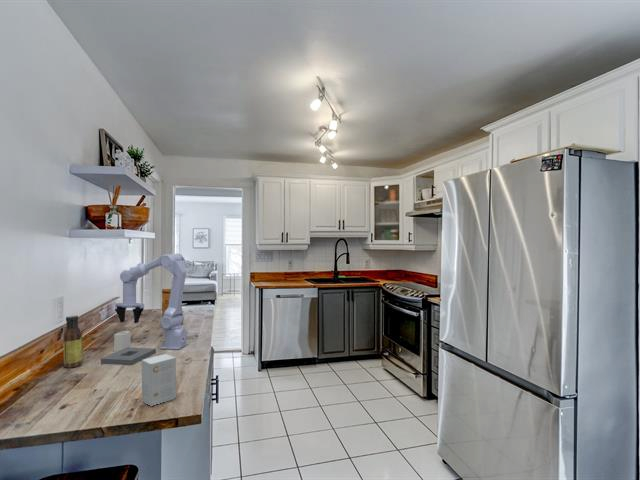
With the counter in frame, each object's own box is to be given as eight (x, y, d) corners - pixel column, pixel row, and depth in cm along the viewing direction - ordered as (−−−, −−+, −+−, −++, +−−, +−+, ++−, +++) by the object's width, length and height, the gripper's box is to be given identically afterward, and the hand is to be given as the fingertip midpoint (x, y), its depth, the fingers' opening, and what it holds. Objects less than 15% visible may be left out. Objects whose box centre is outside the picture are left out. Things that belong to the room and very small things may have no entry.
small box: (166, 393, 116) (166, 353, 117) (176, 398, 112) (176, 357, 112) (141, 401, 110) (141, 359, 110) (150, 407, 106) (150, 363, 106)
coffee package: (182, 326, 212) (182, 289, 212) (159, 327, 209) (159, 289, 209) (184, 322, 222) (184, 287, 222) (162, 323, 218) (162, 287, 219)
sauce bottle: (86, 364, 145) (86, 315, 145) (71, 369, 139) (71, 318, 139) (74, 362, 147) (74, 314, 147) (59, 367, 141) (59, 317, 141)
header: (155, 353, 159) (155, 348, 159) (131, 365, 143) (131, 360, 143) (127, 351, 161) (127, 347, 161) (100, 363, 146) (100, 358, 146)
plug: (130, 348, 166) (130, 331, 166) (122, 352, 161) (122, 334, 161) (122, 348, 167) (122, 331, 167) (114, 351, 161) (114, 334, 162)
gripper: (110, 295, 172) (110, 323, 172) (137, 296, 170) (137, 324, 169) (120, 293, 179) (120, 320, 179) (147, 294, 177) (146, 321, 176)
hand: (129, 322), depth 175 cm, fingers open, 7 cm apart
